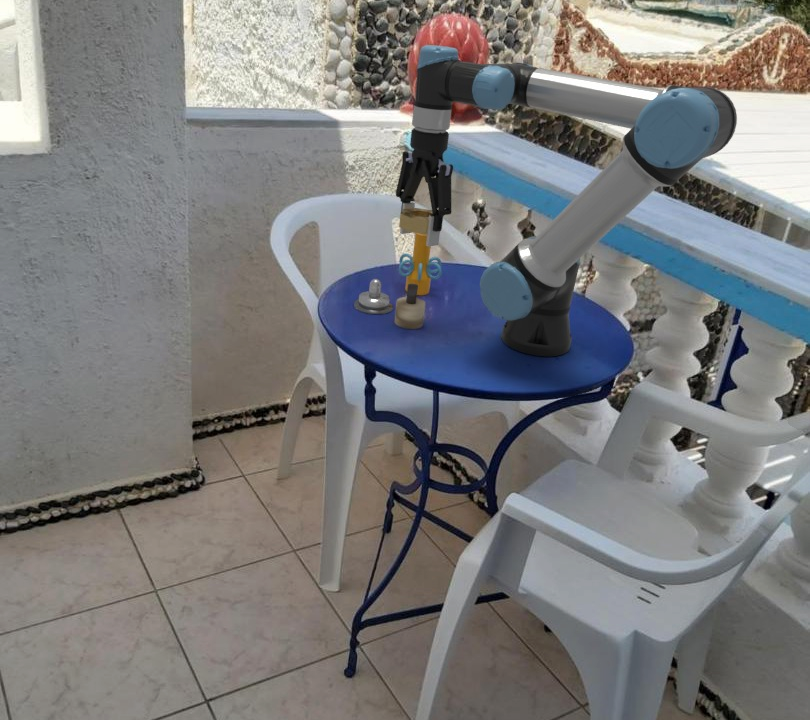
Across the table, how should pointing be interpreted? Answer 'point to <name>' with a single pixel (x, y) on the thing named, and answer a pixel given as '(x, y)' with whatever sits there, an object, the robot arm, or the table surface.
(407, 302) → the stand
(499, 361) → the table surface
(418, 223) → the ring
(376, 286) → the hub
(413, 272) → the cylinder
